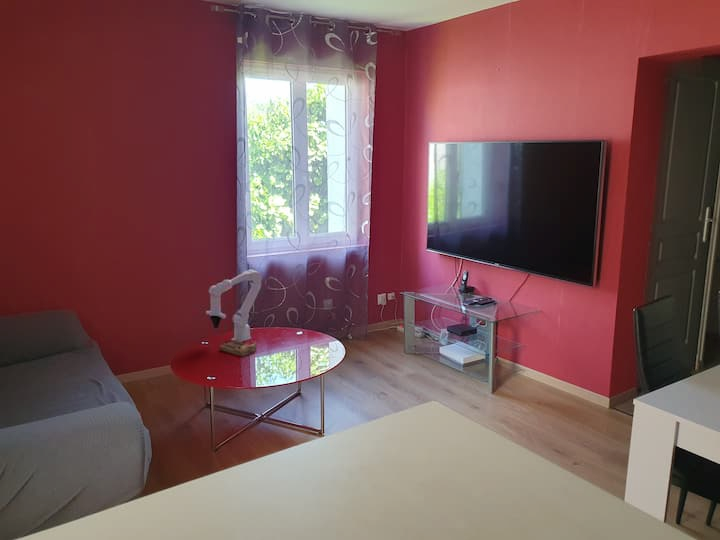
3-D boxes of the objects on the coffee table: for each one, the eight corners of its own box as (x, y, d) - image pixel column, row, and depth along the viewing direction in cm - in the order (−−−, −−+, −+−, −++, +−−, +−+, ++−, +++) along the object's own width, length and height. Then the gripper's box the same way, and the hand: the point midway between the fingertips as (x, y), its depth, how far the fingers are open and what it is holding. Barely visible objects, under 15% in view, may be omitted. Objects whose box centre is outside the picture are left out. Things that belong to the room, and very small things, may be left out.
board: (233, 344, 336) (233, 337, 335) (256, 350, 327) (256, 343, 326) (220, 350, 327) (219, 342, 326) (243, 356, 318) (242, 348, 317)
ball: (247, 351, 325) (243, 352, 327) (247, 345, 326) (242, 345, 328) (243, 351, 322) (239, 352, 324) (243, 345, 323) (238, 346, 325)
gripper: (201, 305, 334) (202, 327, 336) (219, 309, 326) (220, 331, 329) (210, 302, 339) (211, 324, 342) (228, 306, 332) (228, 328, 335)
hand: (216, 327), depth 336 cm, fingers closed
